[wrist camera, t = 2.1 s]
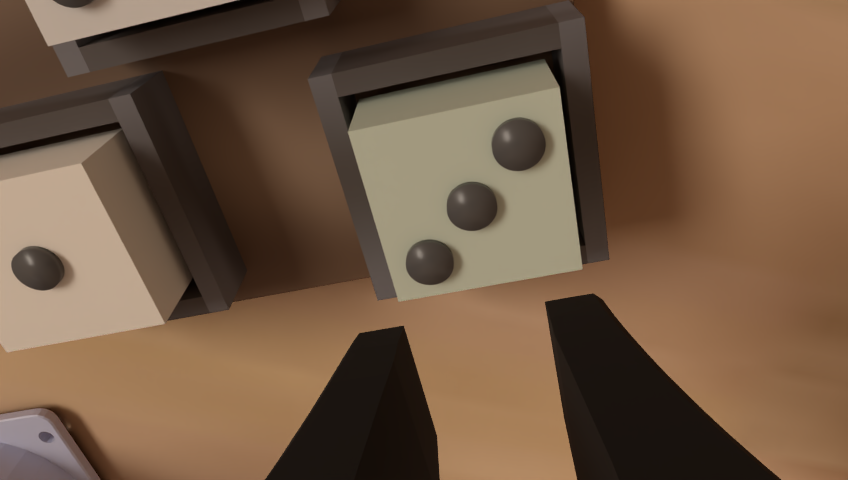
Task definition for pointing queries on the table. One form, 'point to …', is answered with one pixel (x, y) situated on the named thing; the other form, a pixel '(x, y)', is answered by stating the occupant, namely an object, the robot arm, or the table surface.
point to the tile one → (82, 244)
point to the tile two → (103, 15)
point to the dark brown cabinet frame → (281, 120)
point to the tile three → (469, 180)
